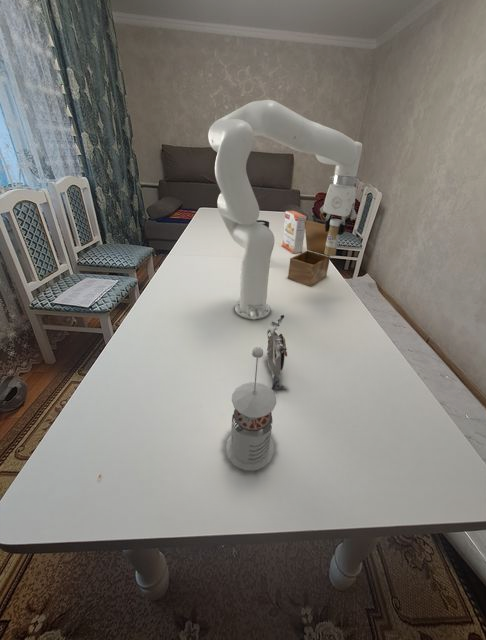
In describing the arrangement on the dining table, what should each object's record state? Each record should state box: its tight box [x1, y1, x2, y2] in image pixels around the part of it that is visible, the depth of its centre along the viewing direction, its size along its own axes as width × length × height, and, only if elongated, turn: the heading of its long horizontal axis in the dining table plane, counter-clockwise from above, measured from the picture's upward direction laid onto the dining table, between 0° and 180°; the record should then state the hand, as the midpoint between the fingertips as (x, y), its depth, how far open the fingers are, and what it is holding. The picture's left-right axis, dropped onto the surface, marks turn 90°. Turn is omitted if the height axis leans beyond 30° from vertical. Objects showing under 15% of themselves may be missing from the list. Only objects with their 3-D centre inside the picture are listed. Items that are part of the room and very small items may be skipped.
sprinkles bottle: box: [324, 218, 342, 257], centre depth 112 cm, size 5×5×13 cm
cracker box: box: [281, 210, 308, 254], centre depth 167 cm, size 14×6×21 cm, turn 25°
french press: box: [225, 347, 277, 471], centre depth 54 cm, size 10×12×25 cm
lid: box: [304, 218, 331, 258], centre depth 133 cm, size 16×12×5 cm
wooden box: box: [287, 250, 331, 287], centre depth 135 cm, size 16×12×10 cm
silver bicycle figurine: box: [266, 314, 288, 391], centre depth 77 cm, size 15×4×13 cm, turn 6°
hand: (334, 232), depth 111 cm, fingers closed on sprinkles bottle, 4 cm apart
